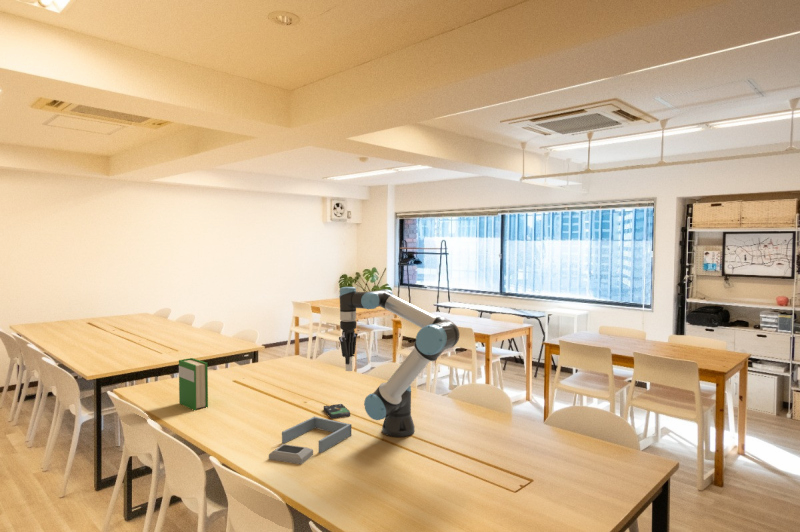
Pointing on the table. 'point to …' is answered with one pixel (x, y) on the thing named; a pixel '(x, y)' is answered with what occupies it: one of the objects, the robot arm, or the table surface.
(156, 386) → the table surface
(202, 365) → the hardback book
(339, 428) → the open u-shaped frame
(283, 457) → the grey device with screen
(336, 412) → the disk drive
